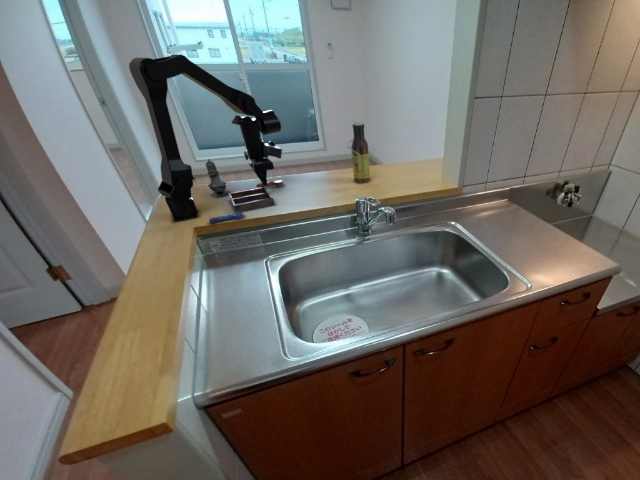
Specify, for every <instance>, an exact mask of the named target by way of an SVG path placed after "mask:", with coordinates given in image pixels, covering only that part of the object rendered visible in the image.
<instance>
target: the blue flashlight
mask: <svg viewBox="0 0 640 480" xmlns="http://www.w3.org/2000/svg"><path fill="white" fill-rule="evenodd" d="M242 219H244V212H236V211H235V212H234V213H232V214H230V213H229V214H226V215H220V216H216V217H210V218H209V219H208V222H209V223H210V224H216V223H221V222H226V221H231V220H234V221H235V220H242Z"/></svg>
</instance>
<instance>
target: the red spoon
mask: <svg viewBox="0 0 640 480" xmlns="http://www.w3.org/2000/svg"><path fill="white" fill-rule="evenodd" d="M274 186H275V187H280V186H284V181H283V180H282V179H276V180H274V181H267V185H263V183H262V182H261V183H257V184H256V188H262V187H265V188H269V187H274Z"/></svg>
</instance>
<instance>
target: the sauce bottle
mask: <svg viewBox="0 0 640 480" xmlns="http://www.w3.org/2000/svg"><path fill="white" fill-rule="evenodd" d="M352 129H353V139H352V143H351V148H350V149H351V162H352V172H353V173H352V174H353V179H354V181H355V182H357V183H358V184H359V183H363V184H364V183H368V182H369V181H370V179H371V171H370V170H371V169H370V153H369V144H368V143H369V142H368V141H367V140H366V138H365V122H364V123H363V122H354V123H352Z"/></svg>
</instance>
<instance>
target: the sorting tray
mask: <svg viewBox="0 0 640 480" xmlns="http://www.w3.org/2000/svg"><path fill="white" fill-rule="evenodd" d="M227 196H228V198H229V201H230V203H231V205H232V207H233V209H234V212H235V213H236V212H242V213H244V212H248V211H253V210H257V209H262V208H266V207H267V208H268V207H272V206H275V202H274V198H273V196H272V195H271V194H270V192H269V191H268V190H267V188H266V187H262V188H257V187H256V188H251V189H246V190H240V191H234V192H229V194H228V195H227Z"/></svg>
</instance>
